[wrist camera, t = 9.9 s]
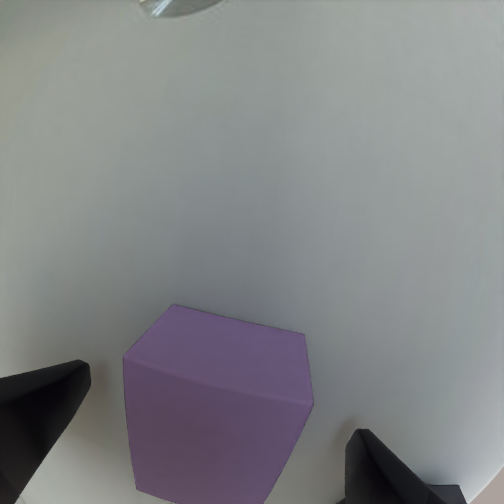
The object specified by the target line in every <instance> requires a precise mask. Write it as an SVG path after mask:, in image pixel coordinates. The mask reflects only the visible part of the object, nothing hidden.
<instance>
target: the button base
mask: <svg viewBox="0 0 504 504" xmlns="http://www.w3.org/2000/svg"><path fill="white" fill-rule="evenodd" d="M427 486H429V487H430V489H432V490H433V491H434V492H435V493H436V494H437V495H439V496H440V497H441V498H442V499H443V500H444V501H446V502H447V503H448V504H467V503H466V501H465V498H464V496H463V494H462V492H461V489H460V487H459V485H427ZM337 504H346V498H345V499H343V500H342V501H340V502H339V503H337Z"/></svg>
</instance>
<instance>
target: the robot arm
mask: <svg viewBox="0 0 504 504" xmlns="http://www.w3.org/2000/svg"><path fill="white" fill-rule="evenodd" d="M90 387H91V374H90V366H89V364H88V363H86V362H84V361H82V360H74V361H70V362H66V363H62V364H58V365H54V366H50V367H46V368H42V369H38V370H34V371H30V372H25V373H21V374H17V375H12V376H8V377H3V378H0V504H15V502H16V501H17V499H18V498H19V495H20V494H21V493H22V491H23V490H24V488H25V487H26V485H27V483H28V482H29V480H30V479H31V477H32V476H33V474H34V473H35V472H36V470H37V469H38V467H39V466H40V464H41V463H42V461H43V460H44V458H45V457H46V455H47V454H48V453H49V451H50V450H51V448H52V447H53V445H54V444H55V443H56V441H57V440H58V438H59V437H60V436H61V434H62V433H63V431H64V430H65V429H66V427H67V426H68V424H69V423H70V422H71V420H72V419H73V417H74V415H75V414H76V412H77V410H78V408H79V407H80V405H81V403H82V401H83V399H84V398H85V396H86V394H87V392H88V391H89V389H90ZM345 496H346V504H448V503H447V502H446V501H444V500H443V499H442V498H441V497H440V496H439V495H437V494H436V493H435V492H434V491H433V490H432V489H430V487H429V486H427V485H426V484H425V483H424V482H423V481H422V480H421V479H420V478H419V477H418V476H417V475H416V474H415V473H413V472H412V471H411V470H410V469H409V468H408V467H407V466H406V465H405V464H404V463H403V462H402V461H401V460H400V459H399V458H398V457H397V456H396V455H395V454H394V453H393V452H392V451H391V450H389V449H388V448H387V447H386V446H385V445H384V444H383V443H382V442H381V441H380V440H379V439H378V438H377V437H376V436H375V435H374V434H373V433H372V432H371V431H370V430H369V429H361V428H359V429H356V430H355V431H354V433H353V435H352V436H351V438H350V440H349V441H348V443H347V445H346V449H345Z"/></svg>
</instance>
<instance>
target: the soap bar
mask: <svg viewBox="0 0 504 504" xmlns="http://www.w3.org/2000/svg"><path fill="white" fill-rule="evenodd" d="M123 377H124V395H125V408H126V419H127V429H128V438H129V446H130V453H131V460H132V466H133V472H134V478H135V484H136V489H137V490H139V491H141V492H144V493H147V494H149V495H152V496H155V497H158V498H161V499H164V500H167V501H170V502H174V503H177V504H264V502H265V501H266V499H267V497H268V495H269V494H270V492H271V490H272V488H273V486H274V485H275V483H276V481H277V479H278V477H279V476H280V474H281V472H282V470H283V468H284V466H285V464H286V462H287V460H288V458H289V456H290V454H291V452H292V450H293V448H294V446H295V444H296V442H297V440H298V438H299V436H300V434H301V432H302V429H303V427H304V425H305V423H306V421H307V418H308V416H309V414H310V412H311V409H312V407H313V405H314V401H313V393H312V385H311V377H310V369H309V362H308V355H307V347H306V340H305V335H304V334H302V333H297V332H292V331H287V330H282V329H277V328H272V327H267V326H262V325H258V324H253V323H249V322H244V321H240V320H235V319H231V318H227V317H222V316H218V315H214V314H210V313H206V312H202V311H198V310H194V309H190V308H186V307H183V306H179V305H175V304H173V305H171V306H170V307H169V308H168V309H167V310H166V311H165V312H164V313H163V314H162V315H161V317H160V318H159V319H158V320H157V321H156V322H155V323H154V324H153V325H152V326H151V327H150V328H149V329H148V330H147V331H146V332H145V333H144V334H143V335H142V336H141V337H140V338H139V340H138V341H137V342H136V343H135V344H134V345H133V346H132V347H131V348H130V349H129V350H128V351H127V352H126V353H125V354H124V356H123Z"/></svg>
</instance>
